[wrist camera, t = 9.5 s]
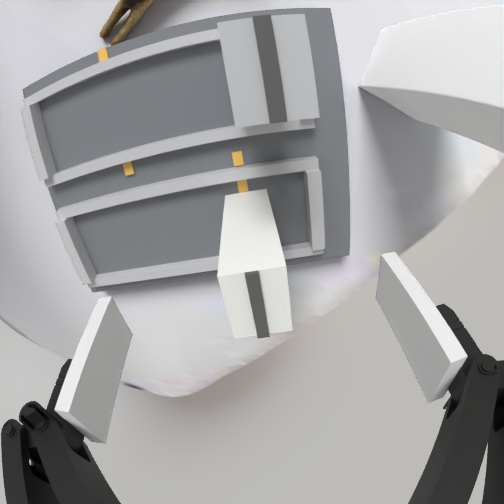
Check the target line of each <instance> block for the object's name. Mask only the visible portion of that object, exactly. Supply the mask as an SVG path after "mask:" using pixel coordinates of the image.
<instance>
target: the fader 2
mask: <svg viewBox="0 0 504 504" xmlns="http://www.w3.org/2000/svg"><path fill="white" fill-rule="evenodd" d="M217 278H218V281H219V285H220V289H221V292H222V296H223V300H224V303H225V307H226V311H227V314H228V318H229V321H230V325H231V328H232V332H233V335H234V339H235V338H243V337H251V336H257V337H258V338H265V337H270V336H269V334H273V333H279V332H286V331H292V330H293V329H292V318H291V307H290V297H289V287H288V277H287V268H286V263H285V259H284V255H283V251H282V247H281V243H280V239H279V235H278V231H277V227H276V223H275V220H274V216H273V212H272V208H271V204H270V201H269V197H268V193H267V189H262V190H255V191H249V192H242V193H236V194H230V195H225V202H224V211H223V221H222V231H221V241H220V251H219V262H218V273H217Z"/></svg>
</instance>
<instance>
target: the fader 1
mask: <svg viewBox="0 0 504 504" xmlns="http://www.w3.org/2000/svg"><path fill="white" fill-rule="evenodd" d="M217 26H218V31H219V37H220V43H221V48H222V54H223V60H224V65H225V71H226V77H227V82H228V88H229V94H230V99H231V105H232V111H233V117H234V122H235V128H240V127H246V126H253V125H259V124H267V123H270V124H272V123H280V122H287V121H291V120H301V119H311V118H320V116H319V107H318V99H317V91H316V83H315V75H314V68H313V61H312V55H311V48H310V42H309V36H308V30H307V25H306V19H305V14H287V15H273V16H271V14H270V15H259V16H253V17H252V18H244V19H237V20H230V21H224V22H218V23H217Z"/></svg>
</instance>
